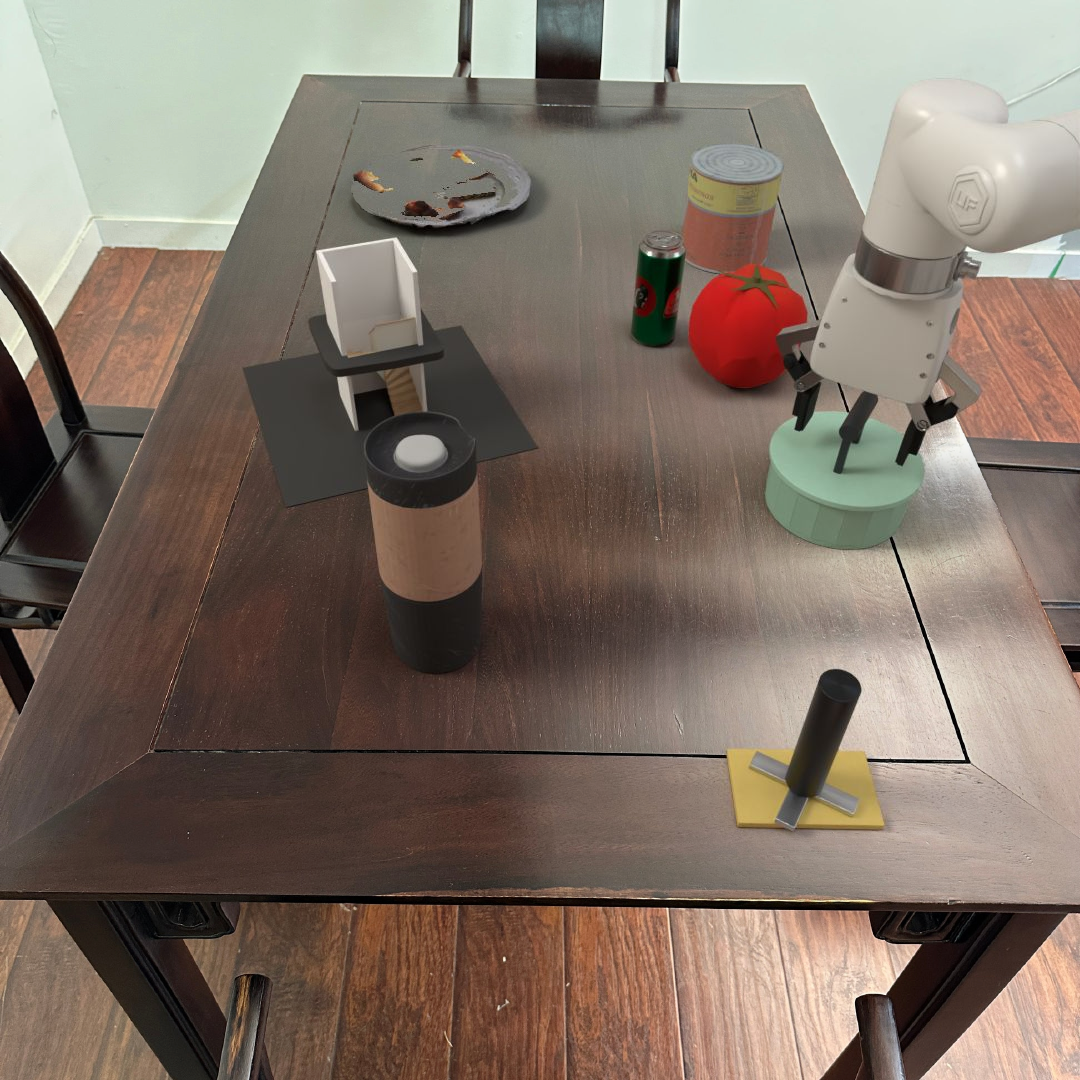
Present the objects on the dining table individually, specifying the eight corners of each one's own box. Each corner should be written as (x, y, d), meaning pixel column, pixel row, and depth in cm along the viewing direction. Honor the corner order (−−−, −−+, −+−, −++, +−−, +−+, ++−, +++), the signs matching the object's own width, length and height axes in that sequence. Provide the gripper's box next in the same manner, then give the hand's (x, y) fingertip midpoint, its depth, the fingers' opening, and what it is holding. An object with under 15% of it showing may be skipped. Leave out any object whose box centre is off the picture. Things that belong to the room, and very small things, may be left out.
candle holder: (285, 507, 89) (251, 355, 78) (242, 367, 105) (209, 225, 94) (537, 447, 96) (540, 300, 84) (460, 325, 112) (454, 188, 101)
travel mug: (376, 667, 76) (344, 471, 62) (407, 597, 81) (383, 402, 67) (470, 684, 75) (459, 489, 61) (495, 612, 80) (490, 418, 66)
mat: (862, 755, 70) (864, 750, 70) (882, 830, 66) (885, 825, 66) (726, 752, 70) (727, 748, 70) (737, 827, 66) (738, 822, 66)
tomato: (673, 394, 103) (686, 297, 95) (692, 329, 112) (706, 236, 104) (789, 413, 100) (812, 316, 92) (799, 346, 110) (821, 252, 102)
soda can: (669, 351, 109) (682, 253, 100) (626, 344, 110) (635, 245, 101) (678, 329, 112) (691, 231, 104) (636, 321, 113) (645, 224, 105)
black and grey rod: (871, 769, 69) (917, 668, 61) (837, 854, 64) (883, 756, 56) (771, 723, 72) (802, 621, 64) (731, 801, 67) (760, 701, 59)
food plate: (393, 252, 124) (390, 226, 122) (327, 184, 139) (323, 159, 136) (559, 211, 134) (560, 186, 131) (481, 151, 148) (480, 127, 146)
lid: (937, 451, 89) (960, 392, 85) (897, 537, 81) (919, 478, 76) (797, 405, 94) (811, 347, 90) (745, 482, 86) (757, 423, 81)
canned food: (697, 225, 131) (710, 136, 123) (778, 245, 127) (796, 154, 119) (666, 261, 124) (676, 168, 115) (749, 282, 120) (766, 189, 112)
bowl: (917, 487, 92) (933, 446, 89) (879, 569, 84) (894, 527, 81) (792, 444, 97) (802, 403, 93) (744, 517, 89) (753, 476, 85)
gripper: (1035, 268, 73) (962, 449, 85) (813, 212, 79) (774, 389, 91) (1015, 312, 68) (940, 497, 80) (780, 249, 74) (744, 430, 86)
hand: (852, 439), depth 85 cm, fingers open, 8 cm apart
